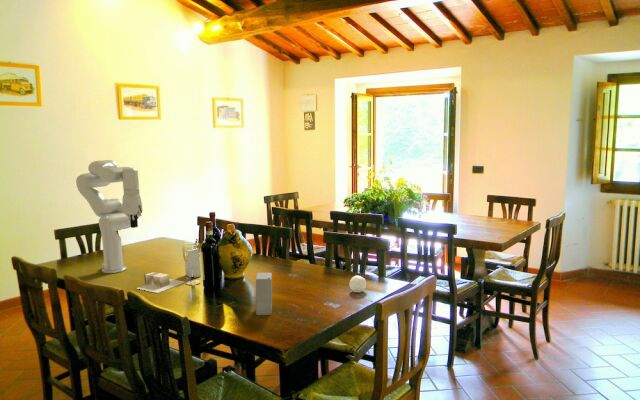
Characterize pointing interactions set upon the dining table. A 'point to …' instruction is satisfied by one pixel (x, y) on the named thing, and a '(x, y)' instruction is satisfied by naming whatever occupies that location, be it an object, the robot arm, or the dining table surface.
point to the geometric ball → (357, 284)
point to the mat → (160, 289)
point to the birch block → (157, 279)
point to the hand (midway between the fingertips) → (134, 227)
